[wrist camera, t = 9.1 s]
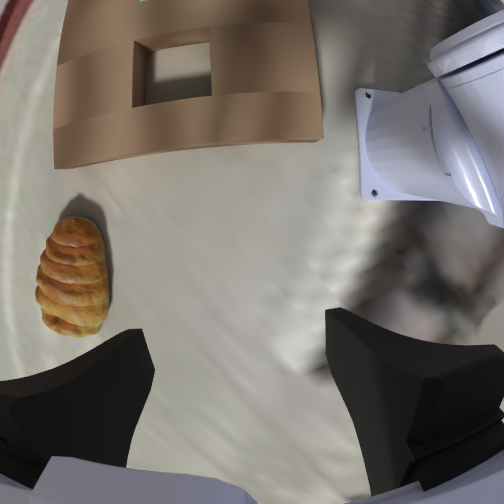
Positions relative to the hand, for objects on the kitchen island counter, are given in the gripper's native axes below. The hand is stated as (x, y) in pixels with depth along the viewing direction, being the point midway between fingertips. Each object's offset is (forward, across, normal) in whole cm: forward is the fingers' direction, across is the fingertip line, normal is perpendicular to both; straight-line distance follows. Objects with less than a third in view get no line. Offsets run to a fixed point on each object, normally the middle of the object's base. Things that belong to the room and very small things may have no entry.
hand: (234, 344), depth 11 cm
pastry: (+11, +14, 0) cm, 18 cm away
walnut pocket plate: (+10, +2, -18) cm, 21 cm away
